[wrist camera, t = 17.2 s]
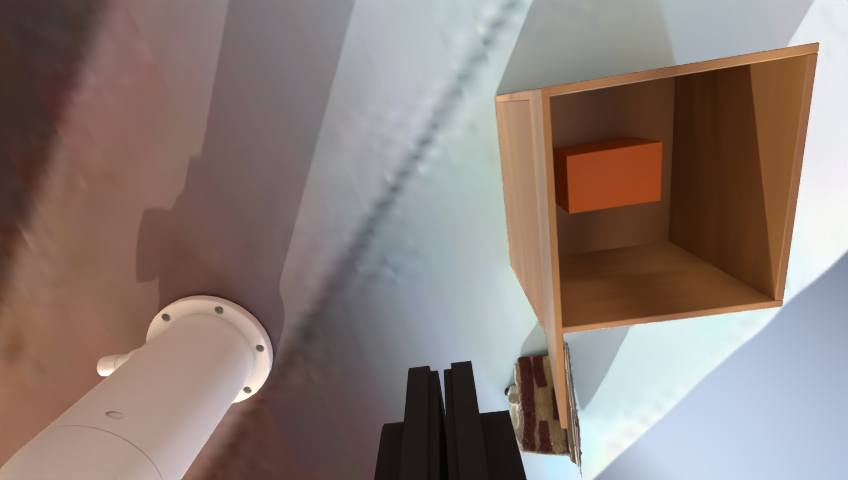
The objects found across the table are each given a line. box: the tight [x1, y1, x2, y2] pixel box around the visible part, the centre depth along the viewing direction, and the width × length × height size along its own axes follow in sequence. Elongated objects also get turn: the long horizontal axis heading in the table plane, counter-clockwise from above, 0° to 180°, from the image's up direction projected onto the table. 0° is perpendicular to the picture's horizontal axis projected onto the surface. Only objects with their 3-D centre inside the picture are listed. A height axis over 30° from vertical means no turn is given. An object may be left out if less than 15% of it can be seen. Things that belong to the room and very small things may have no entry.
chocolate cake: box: [505, 343, 582, 477], centre depth 41 cm, size 10×7×12 cm
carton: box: [495, 42, 819, 334], centre depth 29 cm, size 15×16×12 cm
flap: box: [529, 88, 568, 428], centre depth 20 cm, size 7×15×1 cm
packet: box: [553, 137, 663, 214], centre depth 32 cm, size 7×4×5 cm, turn 99°
